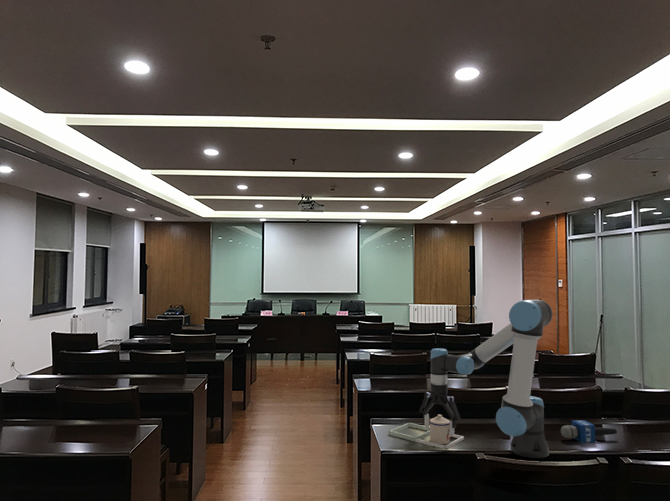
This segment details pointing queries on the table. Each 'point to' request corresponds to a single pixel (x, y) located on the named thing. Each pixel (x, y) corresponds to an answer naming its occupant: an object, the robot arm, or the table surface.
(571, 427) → the microphone
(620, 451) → the table surface
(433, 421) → the teacup with lid
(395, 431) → the divided tray
